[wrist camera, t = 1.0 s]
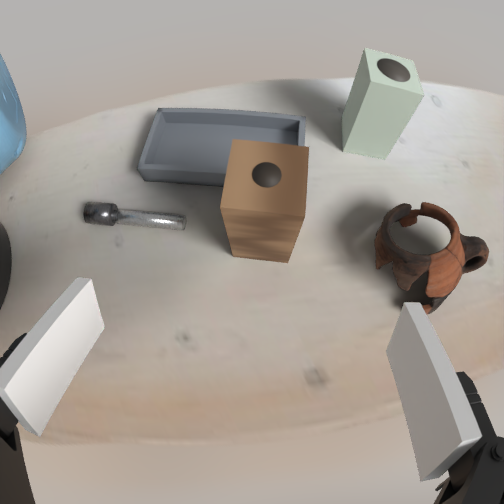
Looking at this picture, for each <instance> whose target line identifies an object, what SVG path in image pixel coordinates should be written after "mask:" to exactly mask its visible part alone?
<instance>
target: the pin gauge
mask: <svg viewBox="0 0 504 504" xmlns="http://www.w3.org/2000/svg"><path fill="white" fill-rule="evenodd" d="M84 220H85V222H86V223H90V224H100V225H110V226H113V225H114V224H115V223H117V224H127V225H137V226H147V227H157V228H167V229H176V230H184V229H185V225H186V216H185V215H175V214H164V213H153V212H141V211H130V210H118V208H117V206H116V204H110V203H95V202H89V203H87V204H86V206H85V208H84Z"/></svg>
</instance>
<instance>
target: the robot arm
mask: <svg viewBox="0 0 504 504" xmlns="http://www.w3.org/2000/svg"><path fill="white" fill-rule="evenodd" d="M25 142H26V123H25V118H24V114H23V110H22V106H21V103H20V100H19V97H18V94H17V91H16V88H15V86H14V83H13V81H12V78H11V76H10V73H9V71H8V69H7V66H6V64H5V62H4V60H3V58H2V56H1V54H0V174H1V173H2V172H3V171H4V170H5V169H6V168H7V167H9V166H10V165H11V164H12V163H13V162H14V161H15V160H16V159H17V158H18V157H19V155H20V154H21V152H22V151H23V149H24V146H25ZM10 273H11V247H10V242H9V238H8V235H7V232H6V230H5V228H4V227H3V225H2V224H1V223H0V309H1V306H2V304H3V302H4V299H5V296H6V293H7V289H8V285H9V280H10ZM104 328H105V326H104V323H103V320H102V316H101V313H100V309H99V306H98V302H97V298H96V295H95V291H94V287H93V283H92V279H90V278H82V277H77V278H76V279H75V280H74V282H73V283H72V284H71V285H70V286H69V287H68V288H67V289H66V290H65V291H64V292H63V293H62V295H61V296H60V297H59V298H58V299H57V300H56V301H55V302H54V303H53V305H52V306H51V307H50V308H49V309H48V310H47V311H46V312H45V314H44V315H43V316H42V317H41V318H40V319H39V321H38V322H37V323H36V324H35V325H34V327H33V328H32V329H31V330H30V331H29V333H28V334H27V333H24V334H23V335H21V336H20V337H19V338H17V339H16V340H15V341H14V342H13V343H12V344H11V346H10V347H9V350H7V351H6V352H5V353H4V354H3V357H1V358H0V504H35V501H34V498H33V494H32V491H31V487H30V483H29V479H28V475H27V471H26V466H25V462H24V457H23V452H22V447H21V442H20V436H19V431H18V428H17V427H16V424H17V423H18V421H19V422H20V424H21V425H22V426H23V427H24V429H25V430H27V431H29V432H31V433H33V434H35V435H37V436H39V437H40V436H41V434H42V432H43V430H44V428H45V426H46V425H47V423H48V421H49V419H50V417H51V415H52V414H53V412H54V410H55V408H56V407H57V405H58V403H59V401H60V400H61V398H62V396H63V394H64V393H65V391H66V389H67V387H68V386H69V384H70V382H71V381H72V379H73V377H74V376H75V374H76V372H77V371H78V369H79V367H80V366H81V364H82V363H83V361H84V359H85V358H86V356H87V355H88V353H89V351H90V350H91V348H92V347H93V345H94V343H95V342H96V340H97V339H98V337H99V336H100V334H101V333H102V331H103V330H104ZM386 353H387V356H388V359H389V362H390V365H391V369H392V372H393V375H394V378H395V382H396V385H397V388H398V392H399V395H400V399H401V402H402V406H403V410H404V413H405V417H406V421H407V425H408V429H409V433H410V436H411V441H412V445H413V449H414V453H415V458H416V462H417V467H418V471H419V476H420V481H425V480H430V479H435V478H439V477H440V476H441V475H443V474H444V473H445V472H446V471H447V470H448V472H449V476H450V477H449V478H447V479H446V480H445V481H444V482H442V483H441V484H440V485H439V486H438V487H437V488H436V489H435V490H436V491H438V490H439V489H441V488H442V490H441V491H440V493H439V495H438V497H437V499H436V500H435V502H434V504H504V438H502V437H497V436H496V434H495V431H494V429H493V426H492V424H491V421H490V419H489V417H488V414H487V412H486V410H485V407H484V405H483V403H481V398H480V396H479V394H477V389H476V387H475V385H474V383H473V381H472V380H471V379H470V378H469V377H468V376H467V375H466V374H465V372H455V370H454V368H453V366H452V364H451V362H450V359H449V357H448V355H447V353H446V351H445V349H444V347H443V345H442V343H441V341H440V339H439V337H438V335H437V333H436V331H435V330H434V328H433V326H432V324H431V322H430V320H429V318H428V316H427V315H426V313H425V311H424V309H423V307H422V305H421V304H420V303H417V302H404V304H403V307H402V310H401V313H400V316H399V318H398V321H397V324H396V327H395V329H394V332H393V335H392V337H391V340H390V342H389V345H388V347H387V350H386Z"/></svg>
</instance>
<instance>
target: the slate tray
mask: <svg viewBox="0 0 504 504" xmlns="http://www.w3.org/2000/svg"><path fill="white" fill-rule="evenodd" d="M305 122H306V117H303V116H295V115H286V114H277V113H267V112H256V111H243V110H227V109H202V108H158V110H157V113H156V115H155V118H154V121H153V123H152V126H151V129H150V132H149V134H148V137H147V140H146V143H145V146H144V149H143V152H142V155H141V158H140V161H139V164H138V167H137V170H138V171H139V173H140V174H141V176H142V177H143V179H144V180H145V181H153V182H170V183H185V184H198V185H211V186H222V187H224V182H225V177H226V171H227V166H228V161H229V156H230V150H231V145H232V140H233V139H238V140H250V141H261V142H271V143H280V144H289V145H297V146H304V143H305Z"/></svg>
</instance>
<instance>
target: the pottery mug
mask: <svg viewBox="0 0 504 504" xmlns="http://www.w3.org/2000/svg"><path fill="white" fill-rule="evenodd" d="M418 215H423V216H428V217H431V218H434V219H437V220H438V221H440V222H442V223H443V224H444V225H446V226H447V227H448V229H449V231H450V233H451V240H450V242H449V244H448V245H447V246H446V247H445V248H444V249H443V250H441V251H439V252H437V253H434V254H430V255H417V254H413V253H410V252H408V251H405V250H403V249H402V248H400V247H399V246H397V245H396V244H395V242H394V241H393V239H392V237H391V235H390V227H391V226H392V224H393V223H394V222H397V221H399V222H400V223H401V225H402V226H403V227H407V226H411V225H413V224H415V223H416V222H417V216H418ZM376 236H377V237H376V238H375V249H376V269H377V270H378V269H380V268H381V266H383V265H385V264H387V263H390V262H392V261H393V267H392V269H393V273H394V275H395V277H396V279H397V284H398V286H399V287H400V288H402V289H403V290H405V291H408V290H409V289H410V287H411V284H412V283H413V282H414V281H416V280H417V279H418V278H419V277H420V276H421V275H422V274H423V273H425V272H426V271H427V272H428V280H427V285H426V288H425V292H426V294H427V296H428V297H433V300H432V302H431V303H430V304H427V305H422V307H423V309H424V311H425V313H426V315H427V314H430V313H432V312H433V311H435V310H436V309H437V308H438V307H439V306H440V305H441V304H442V302H443V301H444V300H445V299H446V298H447V297H448V295H449V294H450V293H451V292H452V291H453V290H454V288H455V287H456V286H457V284H458V282H459V280H460V278H461V276H462V274H464V273H468V272H471V271H474V270H476V269H478V268H480V267H482V266H483V265H484V264H485V263H486V261H487V259H488V254H489V249H488V247H487V245H486V243H485V242H484V240H482V239H481V238H479V237H475V236H473V237H472V236H471V237H469V236H464V235H462V234H461V233H460V231H459V227H458V224H457V222H456V221H455V219H454V218H453V217H452V216H451V215H450V214H449V213H448V212H447V211H446V210H444V209H443V208H440V207H439V206H436V205H434V204H431V203H426V202H422V203H421V209H420V210H417V209H415V210H411V205H410V204H406V203H403V204H401V205H398V206H396V207H395V208H393V209H392V210H390V211H389V212H388V213H387V214H386V216H385V217H384V220H383V222H382V225H381V227H380V228H379V230H378V231H377V233H376Z"/></svg>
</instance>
